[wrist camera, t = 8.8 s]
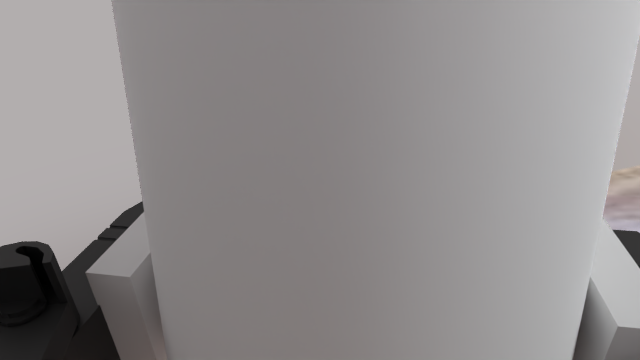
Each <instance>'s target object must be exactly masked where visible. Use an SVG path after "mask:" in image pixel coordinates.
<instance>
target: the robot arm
mask: <svg viewBox="0 0 640 360" xmlns="http://www.w3.org/2000/svg"><path fill="white" fill-rule="evenodd" d="M0 360H167V356H166V349H165V343H164V336H163V330H162V323H161V317H160V310H159V304H158V298H157V291H156V285H155V278H154V272H153V265H152V259H151V252H150V246H149V239H148V233H147V226H146V220H145V213H144V207H143V201H142V202H140V203H138V204H137V205H135V206H133V207H132V208H129V209H128V210H126V211H124V212H123V213H122V214H121V215H120V216H119V217H118V218H117V219H116V220H115V221H114V222H113V223H112V224H111V225H110V228H106V229H105V230H104V231H103V232H102V233H101V234H100V235H99V236H98V240H94V241H93V242H92V243H91V244H90V245H89V246H88V247H87V248H86V249H85V250H84V251H83V252H81V253H80V254H79V255H78V256H77V257H76V258H75V259H74V260H73V261H72V262H71V263H70V264H69V265H68V266H67V267H66V268H65V269H64V270H63V271H62V272H61V269H60V267H59V265H58V262H57V260H56V258H55V255H54V253H53V251H52V249H51V248H50V246H49V245H47V244H44V243H41V242H37V241H36V242H18V243H14V244H9V245H4V246H1V247H0ZM573 360H640V233H639V232H637V231H623V230H612V229H611V228H610V226H609V225H608V223H607V222H606V221H605V219H604V218H603V216H602V221H601V226H600V230H599V235H598V240H597V245H596V250H595V255H594V259H593V264H592V269H591V274H590V279H589V284H588V289H587V293H586V298H585V303H584V308H583V313H582V318H581V322H580V327H579V332H578V337H577V342H576V347H575V352H574V356H573Z"/></svg>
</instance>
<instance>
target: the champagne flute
mask: <svg viewBox="0 0 640 360" xmlns="http://www.w3.org/2000/svg"><path fill="white" fill-rule="evenodd" d="M112 6H113V12H114V19H115V26H116V32H117V39H118V45H119V52H120V58H121V64H122V71H123V78H124V84H125V90H126V97H127V103H128V109H129V116H130V123H131V129H132V136H133V142H134V149H135V155H136V162H137V168H138V175H139V181H140V188H141V194H142V201H143V207H144V213H145V220H146V226H147V233H148V239H149V246H150V252H151V259H152V265H153V272H154V278H155V285H156V291H157V298H158V304H159V310H160V317H161V323H162V330H163V336H164V343H165V349H166V356H167V360H573V356H574V352H575V347H576V342H577V337H578V332H579V327H580V322H581V318H582V313H583V308H584V303H585V298H586V293H587V289H588V284H589V279H590V274H591V269H592V264H593V259H594V255H595V250H596V245H597V240H598V235H599V230H600V226H601V221H602V216H603V211H604V206H605V201H606V197H607V192H608V187H609V182H610V177H611V172H612V167H613V163H614V158H615V153H616V148H617V143H618V138H619V134H620V129H621V124H622V119H623V114H624V109H625V104H626V100H627V94H628V90H629V85H630V80H631V75H632V71H633V65H634V60H635V55H636V51H637V46H638V41H639V36H640V0H112Z"/></svg>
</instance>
